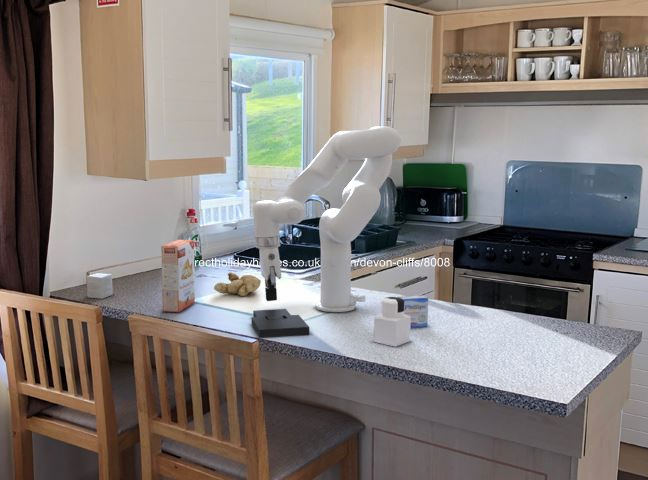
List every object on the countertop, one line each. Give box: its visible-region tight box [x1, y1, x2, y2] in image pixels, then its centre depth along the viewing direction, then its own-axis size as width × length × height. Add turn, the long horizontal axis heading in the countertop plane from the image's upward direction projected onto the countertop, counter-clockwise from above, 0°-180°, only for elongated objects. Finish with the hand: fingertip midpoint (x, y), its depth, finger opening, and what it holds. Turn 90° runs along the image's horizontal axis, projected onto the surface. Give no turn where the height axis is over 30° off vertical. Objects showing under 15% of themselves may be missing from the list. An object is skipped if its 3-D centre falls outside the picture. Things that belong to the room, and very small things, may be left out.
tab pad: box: [252, 308, 292, 320], centre depth 225 cm, size 10×11×2 cm
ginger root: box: [213, 271, 262, 297], centre depth 262 cm, size 16×16×8 cm
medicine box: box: [398, 294, 429, 329], centre depth 220 cm, size 8×4×9 cm, turn 106°
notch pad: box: [251, 314, 310, 339], centre depth 216 cm, size 14×14×2 cm
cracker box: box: [160, 239, 196, 313], centre depth 240 cm, size 14×6×21 cm, turn 168°
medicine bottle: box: [373, 296, 411, 348], centre depth 203 cm, size 7×7×12 cm
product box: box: [86, 272, 114, 300], centre depth 256 cm, size 6×6×7 cm
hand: (271, 300), depth 236 cm, fingers closed
